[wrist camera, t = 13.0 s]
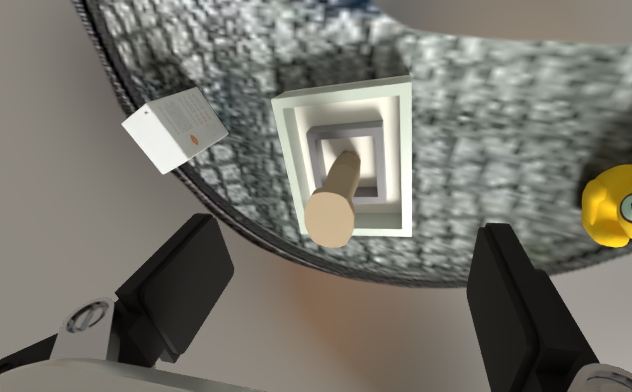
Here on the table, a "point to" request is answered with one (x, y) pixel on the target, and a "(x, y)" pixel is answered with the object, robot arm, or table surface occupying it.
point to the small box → (175, 128)
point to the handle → (334, 203)
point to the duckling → (609, 206)
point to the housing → (352, 147)
